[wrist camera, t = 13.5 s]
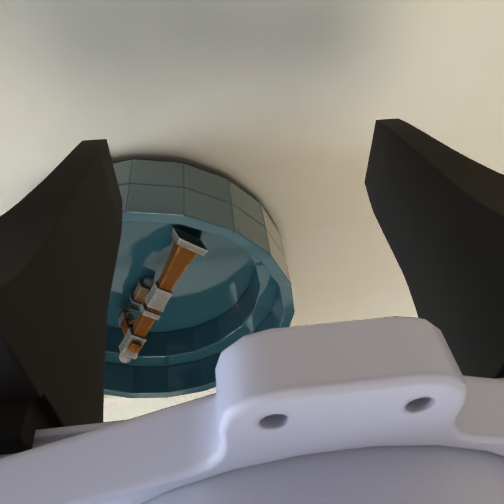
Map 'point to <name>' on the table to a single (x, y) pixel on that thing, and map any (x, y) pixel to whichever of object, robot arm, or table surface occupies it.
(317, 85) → the table surface
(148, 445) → the robot arm
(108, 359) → the bowl
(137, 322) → the wooden post with brackets
